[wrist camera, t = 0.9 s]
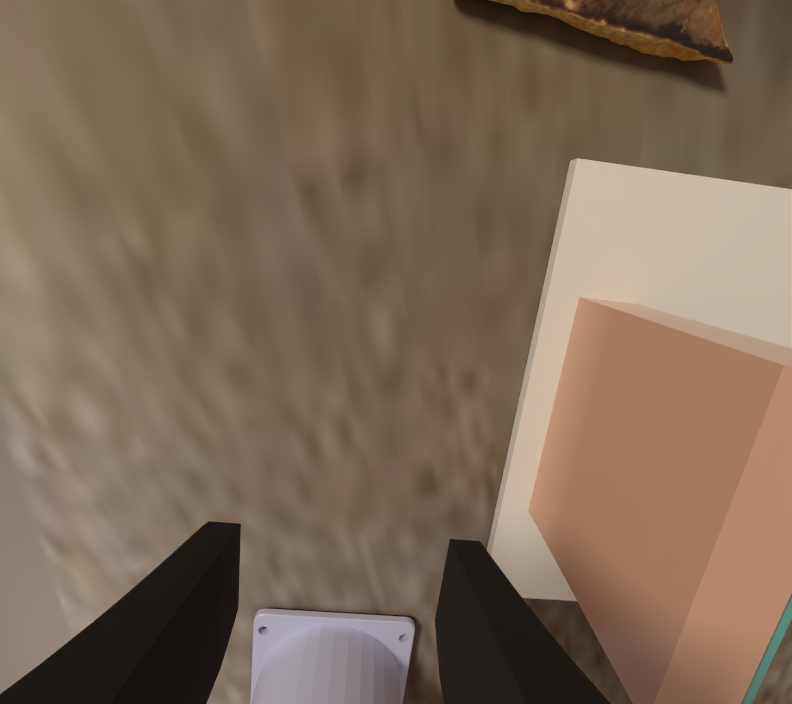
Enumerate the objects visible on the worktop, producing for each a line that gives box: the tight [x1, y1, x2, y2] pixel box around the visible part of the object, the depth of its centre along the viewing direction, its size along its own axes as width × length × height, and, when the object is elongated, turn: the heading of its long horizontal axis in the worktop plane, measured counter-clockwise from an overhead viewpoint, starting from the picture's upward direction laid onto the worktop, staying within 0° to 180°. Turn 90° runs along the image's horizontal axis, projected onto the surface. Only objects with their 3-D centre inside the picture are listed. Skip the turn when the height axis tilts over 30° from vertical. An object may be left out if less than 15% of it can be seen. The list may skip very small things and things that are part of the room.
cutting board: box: [487, 158, 792, 601], centre depth 19 cm, size 20×16×1 cm
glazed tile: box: [528, 297, 792, 704], centre depth 14 cm, size 10×3×9 cm, turn 173°
